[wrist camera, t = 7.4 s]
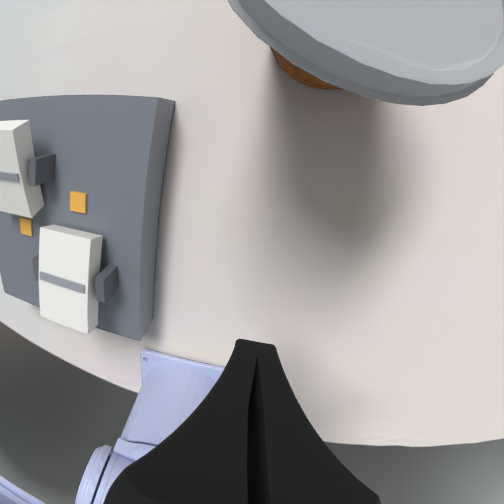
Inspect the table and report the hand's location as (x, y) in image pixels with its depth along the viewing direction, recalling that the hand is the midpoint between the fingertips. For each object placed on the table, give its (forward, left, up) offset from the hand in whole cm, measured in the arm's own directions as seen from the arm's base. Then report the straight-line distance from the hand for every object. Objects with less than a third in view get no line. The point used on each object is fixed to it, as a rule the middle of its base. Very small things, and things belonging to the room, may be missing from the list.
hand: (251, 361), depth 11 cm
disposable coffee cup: (+14, -1, -11) cm, 18 cm away
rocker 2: (-3, +12, -6) cm, 13 cm away
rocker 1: (+4, +17, -6) cm, 18 cm away
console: (0, +14, -10) cm, 17 cm away
